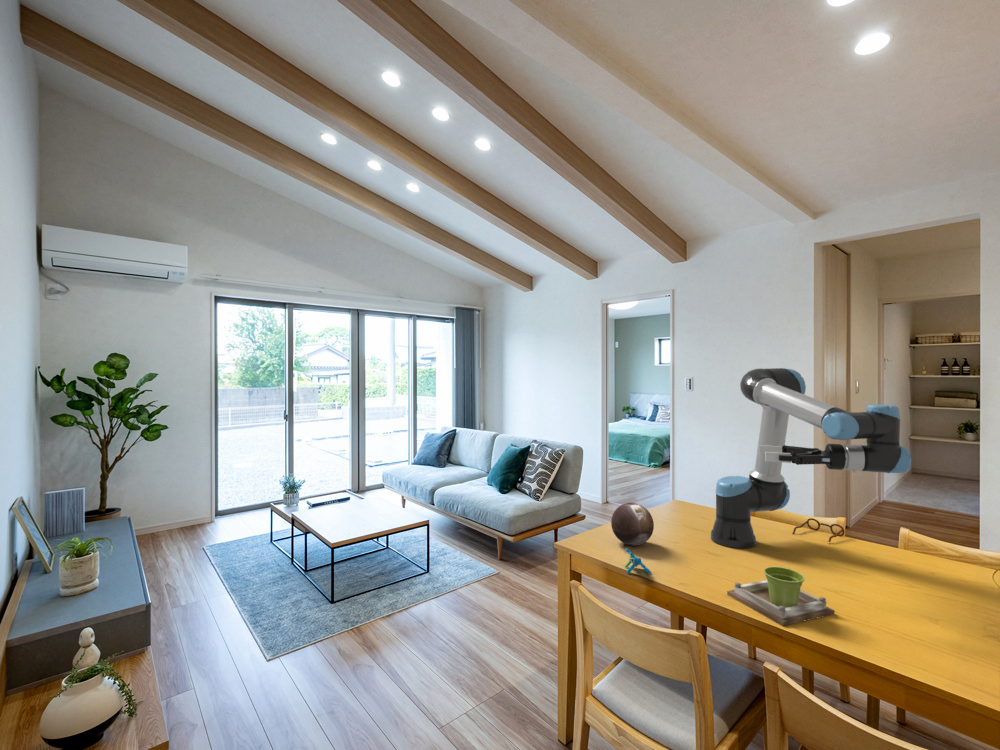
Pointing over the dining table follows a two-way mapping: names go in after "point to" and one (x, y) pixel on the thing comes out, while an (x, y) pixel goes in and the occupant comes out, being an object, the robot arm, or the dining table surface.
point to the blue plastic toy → (635, 563)
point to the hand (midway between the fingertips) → (762, 452)
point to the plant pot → (783, 586)
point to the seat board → (759, 601)
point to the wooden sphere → (632, 524)
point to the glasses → (819, 527)
